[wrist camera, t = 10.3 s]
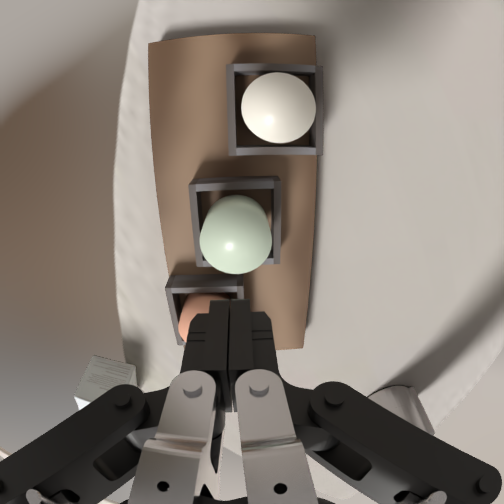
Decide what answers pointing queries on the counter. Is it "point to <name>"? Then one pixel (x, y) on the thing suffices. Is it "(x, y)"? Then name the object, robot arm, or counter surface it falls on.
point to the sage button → (236, 235)
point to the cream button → (278, 107)
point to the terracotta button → (197, 308)
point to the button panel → (234, 169)
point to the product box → (103, 379)
